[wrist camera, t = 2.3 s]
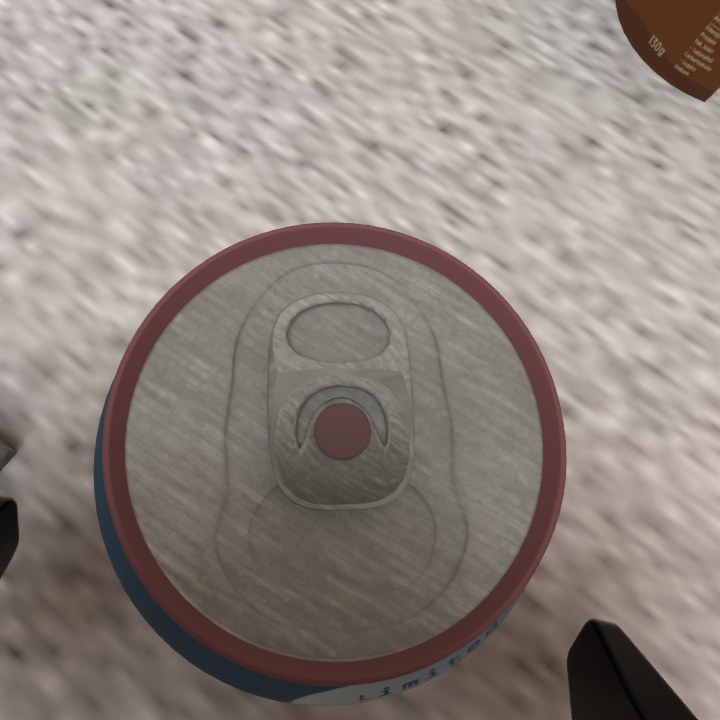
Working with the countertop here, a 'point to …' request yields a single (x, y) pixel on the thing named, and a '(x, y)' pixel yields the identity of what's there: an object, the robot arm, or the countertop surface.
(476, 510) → the soda can
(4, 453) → the tray
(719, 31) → the food container
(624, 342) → the countertop surface
